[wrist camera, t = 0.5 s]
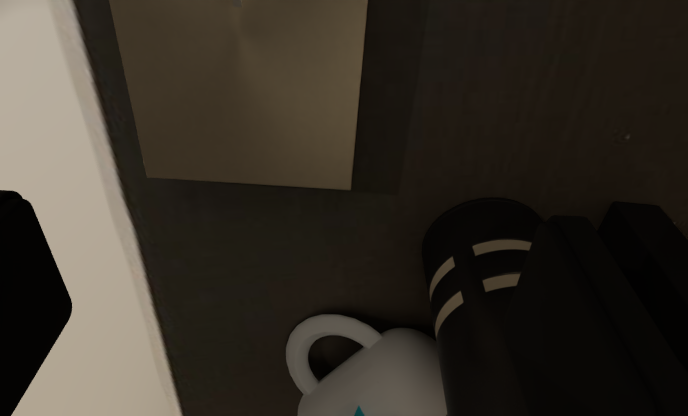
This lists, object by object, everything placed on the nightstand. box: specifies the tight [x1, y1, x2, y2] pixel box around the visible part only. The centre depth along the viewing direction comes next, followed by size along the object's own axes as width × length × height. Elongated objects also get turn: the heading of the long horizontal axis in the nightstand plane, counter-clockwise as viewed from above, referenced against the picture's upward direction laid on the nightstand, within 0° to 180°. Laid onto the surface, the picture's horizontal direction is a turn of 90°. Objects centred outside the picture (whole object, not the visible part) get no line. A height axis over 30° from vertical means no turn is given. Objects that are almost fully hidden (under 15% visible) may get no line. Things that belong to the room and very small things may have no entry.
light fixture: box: [422, 198, 688, 416], centre depth 25 cm, size 10×14×18 cm
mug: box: [286, 314, 447, 416], centre depth 36 cm, size 12×9×12 cm
